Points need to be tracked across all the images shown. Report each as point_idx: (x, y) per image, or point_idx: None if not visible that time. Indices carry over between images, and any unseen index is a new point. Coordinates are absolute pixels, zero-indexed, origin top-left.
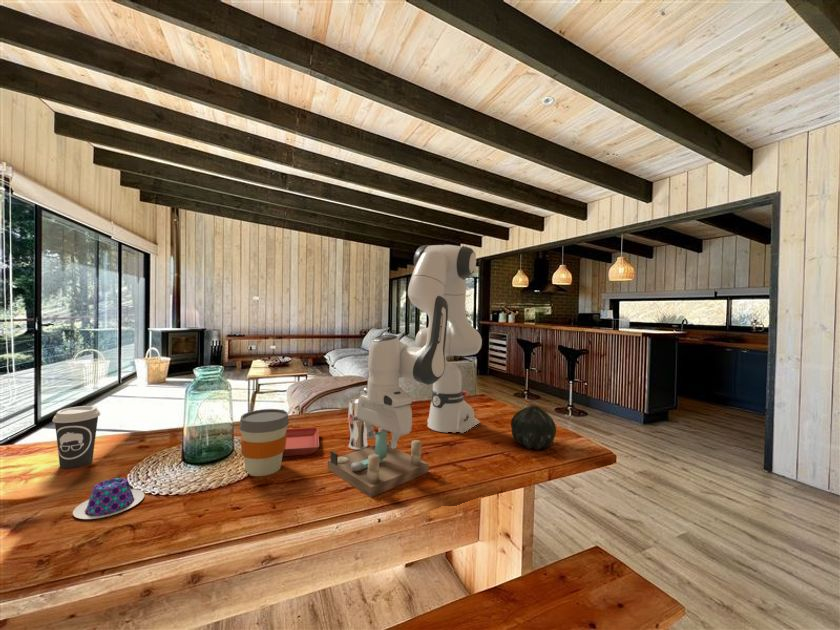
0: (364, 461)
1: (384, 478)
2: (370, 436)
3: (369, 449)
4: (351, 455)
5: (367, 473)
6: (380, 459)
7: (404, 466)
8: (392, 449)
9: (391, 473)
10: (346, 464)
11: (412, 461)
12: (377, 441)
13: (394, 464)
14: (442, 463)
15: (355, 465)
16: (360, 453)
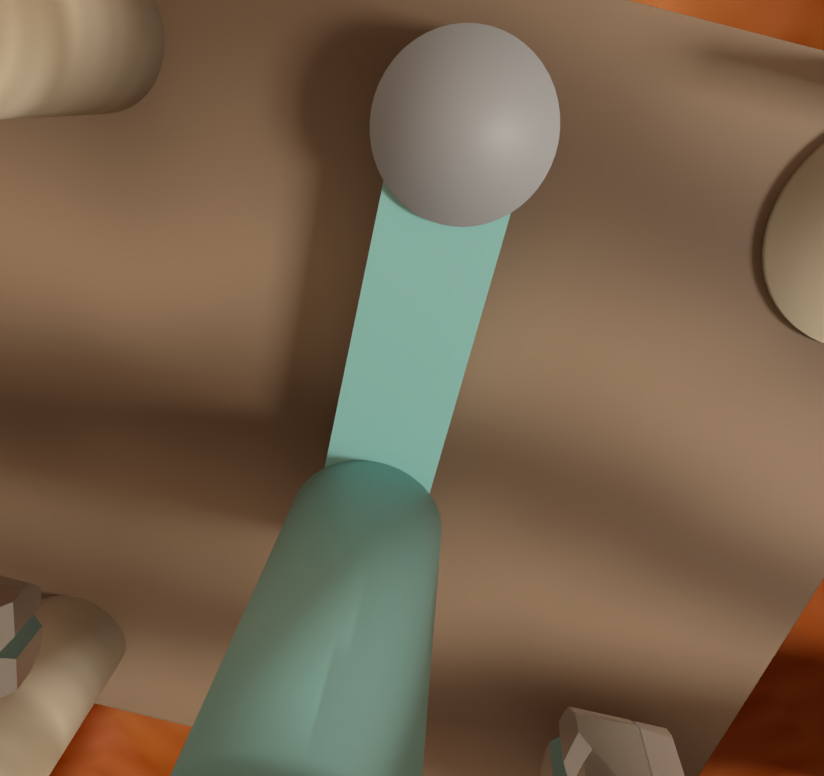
0: (447, 295)
1: (24, 165)
2: (583, 743)
3: (701, 668)
4: (822, 444)
5: (284, 143)
6: (325, 471)
7: (97, 528)
8: (469, 762)
9: (66, 321)
10: (724, 188)
11: (54, 620)
12: (312, 637)
13: (207, 513)
14: (72, 769)
15: (454, 74)
16: (740, 542)
